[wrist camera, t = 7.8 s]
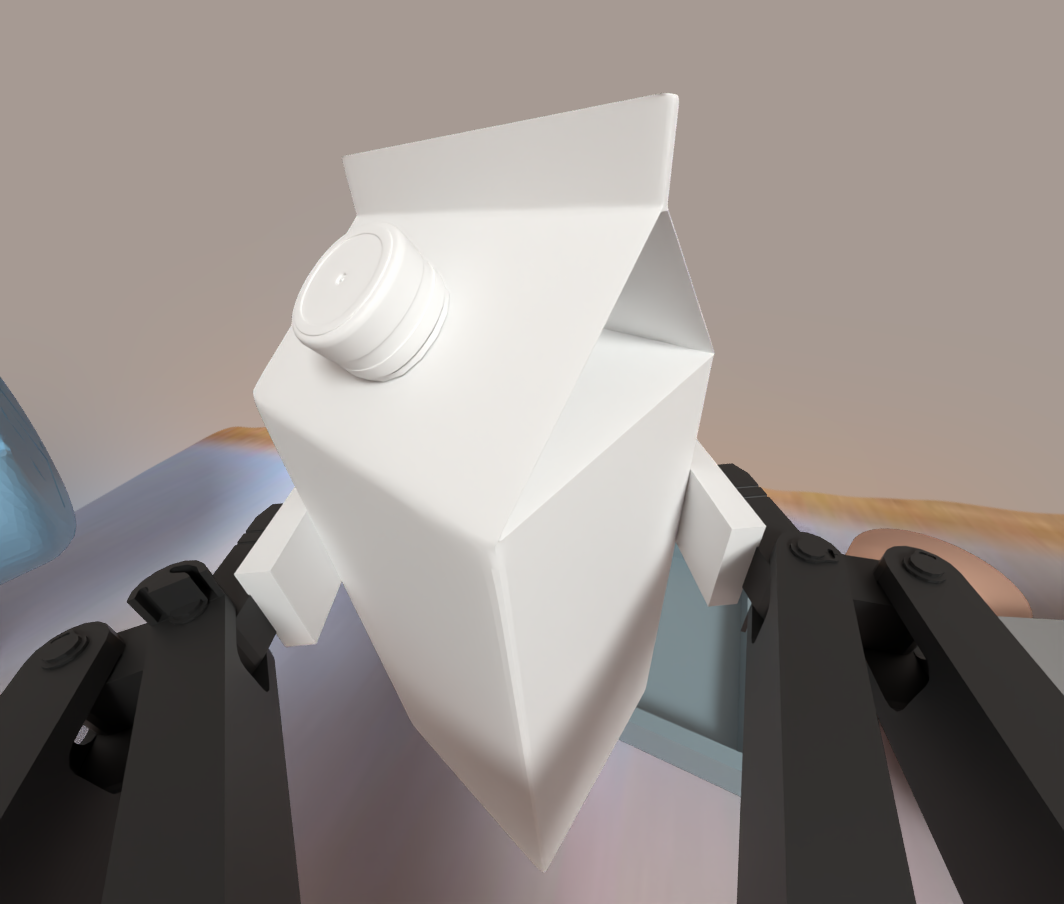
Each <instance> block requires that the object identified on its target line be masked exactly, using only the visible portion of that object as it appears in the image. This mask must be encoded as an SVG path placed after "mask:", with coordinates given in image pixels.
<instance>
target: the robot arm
mask: <svg viewBox="0 0 1064 904" xmlns="http://www.w3.org/2000/svg"><path fill="white" fill-rule="evenodd" d="M75 531H76V519H75V514H74V510H73V507H72V504H71V501H70V498H69V495H68V493H67V491H66V488H65V486H64V484H63V481H62V479H61V477H60V475H59V473H58V471H57V469H56V467H55V465H54V463H53V462H52V459H51V458H50V456H49V454H48V452H47V450H46V448H45V446H44V444H43V443H42V441H41V439H40V437H39V436H38V434H37V432H36V430H35V429H34V427H33V425H32V424H31V422H30V420H29V419H28V417H27V415H26V414H25V412H24V411H23V409H22V408H21V406H20V405H19V403H18V402H17V400H16V398H15V397H14V395H13V394H12V393H11V391H10V390H9V388H8V387H7V385H6V384H5V382H4V381H3V380H2V379H1V377H0V585H1V584H3V583H5V582H7V581H9V580H12V579H14V578H16V577H18V576H20V575H22V574H24V573H27V572H29V571H31V570H33V569H35V568H37V567H39V566H41V565H44V564H46V563H48V562H50V561H52V560H53V559H55V558H56V557H58V556H59V555H60V554H61V553H62V552H63V551H64V550H65V549H66V548H67V547H68V545H69V544H70V542H71V540H72V539H73V537H74V535H75ZM237 543H238V544H237V545H235V546H234V547H233V549H232V550H231V551H230V553H229V554H228V555H227V557H226V558H225V559H224V561H223V562H222V563H221V565H220V566H219V567H218V569H217V570H216V571H215V573H214V574H213V575H212V573H211V572H210V571H209V570H208V568H207V567H206V566H205V564H204V563H202V562H199V561H197V560H192V561H182V562H179V563H175V564H172V565H169V566H167V567H165V568H163V569H161V570H159V571H157V572H155V573H154V574H152V575H151V576H149V577H148V578H146V579H145V580H143V581H142V582H141V583H140V584H139V585H138V586H137V587H136V588H135V589H134V590H133V591H132V592H131V594H130V596H129V598H128V600H127V603H128V604H129V605H130V606H131V607H132V608H133V609H134V610H135V611H136V612H137V613H138V614H139V615H140V616H141V617H142V618H143V619H144V620H145V621H146V622H147V623H146V624H143V625H140V626H137V627H134V628H131V629H128V630H125V631H122V632H119V633H116V632H115V631H114V630H113V629H112V628H110V627H109V626H108V625H107V624H106V623H102V622H98V621H97V622H90V623H84V624H82V625H79V626H76V627H74V628H71V629H68V630H67V631H65V632H63V633H61V634H60V635H57V636H56V637H54V638H52V639H51V640H49V641H48V642H47V643H46V644H44V645H43V646H42V647H40V648H39V649H38V650H36V651H35V652H34V653H33V654H32V656H31V657H30V658H29V659H28V660H27V661H26V662H25V663H24V664H23V666H22V667H21V668H20V670H19V671H18V672H17V674H16V675H15V676H14V678H13V679H12V681H11V682H10V683H9V685H8V686H7V687H6V689H5V690H4V691H3V693H2V694H1V695H0V904H301V901H300V892H299V883H298V874H297V864H296V855H295V846H294V837H293V827H292V818H291V809H290V800H289V790H288V781H287V772H286V762H285V753H284V744H283V735H282V725H281V716H280V707H279V698H278V688H277V679H276V670H275V661H274V657H273V655H272V653H271V651H270V650H269V649H268V648H269V646H270V644H271V642H272V640H273V638H274V636H275V635H276V634H277V636H278V637H279V639H280V640H281V641H282V643H283V644H284V646H285V647H291V646H302V645H312V644H317V641H318V639H319V636H320V634H321V631H322V629H323V626H324V624H325V621H326V619H327V617H328V614H329V612H330V609H331V607H332V604H333V602H334V599H335V597H336V594H337V592H338V589H339V587H340V585H341V582H342V581H341V579H340V577H339V575H338V573H337V570H336V568H335V566H334V564H333V562H332V560H331V558H330V556H329V554H328V552H327V550H326V548H325V546H324V544H323V542H322V540H321V538H320V536H319V534H318V532H317V530H316V528H315V526H314V524H313V522H312V520H311V518H310V516H309V514H308V512H307V510H306V508H305V506H304V504H303V502H302V500H301V498H300V496H299V494H298V492H297V489H296V487H294V489H293V490H292V492H291V493H290V494H289V496H288V497H287V499H286V500H285V502H284V503H282V504H272V505H271V506H270V507H269V508H267V509H266V510H265V511H263V512H262V513H261V514H260V515H258V516H257V517H256V518H255V519H254V521H253V522H252V523H251V525H250V526H249V527H248V529H247V530H246V534H243V535H242V537H241V538H240V539H239V541H238V542H237ZM676 543H677V545H678V547H679V549H680V551H681V553H682V555H683V557H684V559H685V561H686V563H687V565H688V567H689V569H690V571H691V573H692V575H693V577H694V579H695V581H696V583H697V585H698V587H699V589H700V591H701V593H702V595H703V597H704V599H705V601H706V603H707V605H708V607H709V606H720V605H730V604H737V603H738V601H739V598H740V595H741V593H742V590H744V591H745V593H746V594H747V596H748V598H749V599H750V601H751V605H750V608H749V610H748V613H747V615H746V618H745V620H744V623H743V625H742V628H741V631H742V632H746V630H747V647H746V674H745V701H744V727H743V754H742V781H741V807H740V834H739V861H738V888H737V904H916V900H915V896H914V891H913V886H912V881H911V876H910V872H909V867H908V862H907V857H906V852H905V848H904V843H903V838H902V833H901V828H900V824H899V819H898V814H897V809H896V804H895V800H894V795H893V790H892V785H891V780H890V776H889V771H888V766H887V761H886V756H885V752H884V747H883V742H882V737H881V733H880V728H879V723H878V718H879V720H880V722H881V725H882V727H883V729H884V731H885V733H886V736H887V738H888V740H889V742H890V744H891V746H892V749H893V751H894V753H895V755H896V757H897V760H898V762H899V764H900V766H901V768H902V770H903V773H904V775H905V777H906V779H907V781H908V784H909V786H910V788H911V790H912V792H913V794H914V797H915V799H916V801H917V803H918V805H919V808H920V810H921V812H922V814H923V816H924V818H925V821H926V823H927V825H928V827H929V829H930V832H931V834H932V836H933V838H934V840H935V842H936V845H937V847H938V849H939V851H940V853H941V856H942V858H943V860H944V862H945V864H946V866H947V869H948V871H949V873H950V875H951V877H952V880H953V882H954V884H955V886H956V888H957V890H958V893H959V895H960V897H961V899H962V901H963V904H1064V695H1063V694H1062V693H1061V691H1060V690H1059V689H1058V688H1057V687H1056V685H1055V684H1054V683H1053V682H1052V681H1051V679H1050V678H1049V677H1048V676H1047V675H1046V673H1045V672H1044V671H1043V670H1042V669H1041V668H1040V666H1039V665H1038V664H1037V663H1036V662H1035V660H1034V659H1033V658H1032V657H1031V656H1030V654H1029V653H1028V652H1027V651H1026V650H1025V649H1024V647H1023V646H1022V645H1021V644H1020V643H1019V641H1018V640H1017V639H1016V638H1015V637H1014V635H1013V634H1012V633H1011V632H1010V631H1009V629H1008V628H1007V627H1006V626H1005V625H1004V624H1003V622H1002V621H1001V620H1000V619H999V618H998V616H997V615H996V614H995V613H994V612H993V610H992V609H991V608H990V607H989V606H988V605H987V603H986V602H985V601H984V600H983V599H982V597H981V596H980V595H979V594H978V593H977V591H976V590H975V589H974V588H973V587H972V586H971V584H970V583H969V582H968V581H967V580H966V578H965V577H964V576H963V575H962V574H961V573H960V572H959V571H958V570H957V569H956V568H955V567H954V566H953V565H952V564H950V563H949V562H947V561H945V560H944V559H942V558H940V557H939V556H937V555H935V554H932V553H930V552H927V551H925V550H922V549H919V548H914V547H909V546H893V547H891V548H889V549H887V550H886V551H885V553H884V554H883V556H882V558H881V559H880V560H876V559H869V558H862V557H856V556H849V555H844V554H841V553H840V552H839V551H838V550H837V549H836V548H835V547H834V546H833V545H832V544H831V543H829V542H827V541H826V540H824V539H822V538H821V537H818V536H815V535H813V534H810V533H806V532H800V531H799V530H798V529H797V528H796V527H795V526H794V525H793V523H792V522H791V521H790V520H789V519H788V518H787V517H786V516H785V514H784V513H783V512H782V511H781V510H780V509H779V508H778V506H777V505H776V504H775V503H774V502H773V501H772V500H771V499H770V497H767V494H766V493H765V492H764V491H763V489H762V488H761V487H758V484H757V483H756V482H755V480H754V479H753V478H752V477H751V476H750V475H749V474H748V473H747V472H745V471H744V470H742V469H740V468H739V467H737V466H735V465H734V464H721V465H717V464H716V463H715V461H714V460H713V459H712V458H711V456H710V455H709V454H708V453H707V451H706V450H705V449H704V448H703V446H702V445H701V444H700V443H699V441H698V440H697V439H696V443H695V448H694V453H693V458H692V463H691V468H690V473H689V478H688V483H687V488H686V493H685V497H684V502H683V507H682V512H681V517H680V522H679V527H678V532H677V537H676ZM877 716H878V718H877ZM82 725H84V726H86V727H87V728H89V731H88V733H87V735H86V736H85V738H84V739H83V741H82V742H81V743H80V744H76V743H74V740H75V738H76V736H77V734H78V733H79V731H80V729H81V727H82Z"/></svg>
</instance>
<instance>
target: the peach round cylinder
mask: <svg viewBox="0 0 1064 904" xmlns="http://www.w3.org/2000/svg"><path fill="white" fill-rule="evenodd" d="M893 546H909V547H914V548H919V549H922V550H925V551H927V552H930V553H932V554H935V555H937V556H939V557H940V558H942V559H944V560H945V561H947V562H949V563H950V564H952V565H953V566H954V567H955V568H956V569H957V570H958V571H959V572H960V573H961V574H962V575H963V576H964V577H965V578H966V580H967V581H968V582H969V583H970V584H971V586H972V587H973V588H974V589H975V590H976V591H977V593H978V594H979V595H980V596H981V597H982V599H983V600H984V601H985V602H986V603H987V605H988V606H989V607H990V608H991V609H992V610H993V612H994V613H995V614H996V615H997V616H1002V617H1020V618H1033V615H1032V610H1031V608H1030V605H1029V603H1028V601H1027V600H1026V598H1025V597H1024V595H1023V594H1022V593H1021V592H1020V590H1019V589H1018V588H1017V587H1016V586H1015V585H1014V584H1013V583H1012V582H1011V581H1010V580H1009V579H1008V578H1006V577H1005V576H1004V575H1003V574H1002V573H1000V572H999V571H998V570H996V569H995V568H994V567H992V566H991V565H989V564H988V563H986V562H985V561H983V560H981V559H980V558H978V557H976V556H974V555H973V554H971V553H969V552H967V551H965V550H963V549H961V548H959V547H957V546H954V545H952V544H950V543H947V542H945V541H942V540H939V539H937V538H934V537H930V536H927V535H924V534H920V533H916V532H911V531H906V530H899V529H873V530H869V531H866V532H863V533H861V534H859V535H858V536H857V537H856V538H855V539H854V540H853V542H852V543H851V545H850V547H849V549H848V551H847V553H846V554H845V555H849V556H856V557H862V558H869V559H876V560H880V559H881V558H882V556H883V554H884V553H885V551H886V550H887V549H889V548H891V547H893Z"/></svg>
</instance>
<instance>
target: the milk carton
mask: <svg viewBox="0 0 1064 904" xmlns="http://www.w3.org/2000/svg"><path fill="white" fill-rule="evenodd" d="M678 106H679V97H678V96H677V95H676V94H675V95H674V94H670V93H660V94H655V95H650V96H645V97H640V98H636V99H631V100H625V101H620V102H615V103H610V104H605V105H600V106H594V107H590V108H584V109H580V110H574V111H569V112H564V113H560V114H554V115H549V116H544V117H539V118H534V119H529V120H524V121H519V122H514V123H509V124H504V125H498V126H493V127H489V128H483V129H478V130H474V131H469V132H463V133H458V134H453V135H448V136H443V137H438V138H433V139H428V140H423V141H418V142H412V143H407V144H403V145H398V146H392V147H387V148H382V149H377V150H372V151H367V152H362V153H357V154H352V155H347V156H343V157H342V161H343V165H344V169H345V173H346V177H347V181H348V184H349V188H350V192H351V196H352V200H353V204H354V207H355V210H356V214H357V217H356V218H355V220H354V222H353V224H352V226H351V227H350V228H349V230H348V232H347V233H346V234H345V235H343V236H342V237H341V238H340V239H338V240H337V241H336V242H335V243H334V244H333V245H332V246H331V247H330V248H329V249H328V250H327V251H326V252H325V253H324V254H323V256H322V257H321V258H320V260H319V261H318V262H317V263H316V265H315V266H314V268H313V269H312V271H311V272H310V274H309V275H308V277H307V279H306V281H305V282H304V284H303V286H302V288H301V290H300V292H299V295H298V297H297V300H296V302H295V306H294V308H293V313H292V325H291V327H290V328H289V330H288V332H287V333H286V335H285V337H284V338H283V340H282V342H281V343H280V345H279V347H278V348H277V350H276V351H275V353H274V355H273V356H272V358H271V360H270V361H269V363H268V365H267V367H266V368H265V370H264V372H263V373H262V375H261V377H260V378H259V380H258V382H257V384H256V386H255V388H254V390H253V395H254V401H255V404H256V407H257V409H258V411H259V413H260V415H261V418H262V420H263V422H264V424H265V426H266V428H267V430H268V432H269V435H270V437H271V439H272V441H273V443H274V445H275V447H276V449H277V451H278V453H279V455H280V457H281V459H282V461H283V463H284V465H285V467H286V469H287V471H288V473H289V475H290V477H291V479H292V481H293V483H294V485H295V487H296V489H297V492H298V494H299V496H300V498H301V500H302V502H303V504H304V506H305V508H306V510H307V512H308V514H309V516H310V518H311V520H312V522H313V524H314V526H315V528H316V530H317V532H318V534H319V536H320V538H321V540H322V542H323V544H324V546H325V548H326V550H327V552H328V554H329V556H330V558H331V560H332V562H333V564H334V566H335V568H336V570H337V573H338V575H339V577H340V579H341V581H342V583H343V585H344V587H345V589H346V591H347V593H348V595H349V597H350V599H351V601H352V603H353V605H354V607H355V609H356V611H357V613H358V615H359V617H360V619H361V621H362V623H363V625H364V627H365V629H366V631H367V633H368V635H369V638H370V640H371V642H372V644H373V646H374V648H375V650H376V652H377V654H378V656H379V658H380V660H381V662H382V664H383V666H384V668H385V670H386V672H387V674H388V676H389V678H390V680H391V682H392V684H393V686H394V688H395V690H396V692H397V694H398V696H399V698H400V700H401V702H402V704H403V706H404V708H405V711H406V713H407V715H408V717H409V719H410V721H411V722H412V724H413V725H414V727H415V728H416V729H417V730H418V732H419V733H420V734H421V735H422V736H423V737H424V739H425V740H426V741H427V742H428V743H429V744H430V746H431V747H432V748H433V749H434V750H435V751H436V752H437V754H438V755H439V756H440V757H441V758H442V759H443V761H444V762H445V763H446V764H447V765H448V766H449V767H450V769H451V770H452V771H453V772H454V773H455V774H456V775H457V777H458V778H459V779H460V780H461V781H462V782H463V784H464V785H465V786H466V787H467V788H468V789H469V790H470V792H471V793H472V794H473V795H474V796H475V797H476V799H477V800H478V801H479V802H480V803H481V804H482V805H483V807H484V808H485V809H486V810H487V811H488V812H489V813H490V815H491V816H492V817H493V818H494V819H495V820H496V822H497V823H498V824H499V825H500V826H501V827H502V828H503V830H504V831H505V832H506V833H507V834H508V835H509V837H510V838H511V839H512V840H513V841H514V842H515V843H516V845H517V846H518V847H519V848H520V849H521V850H522V851H523V853H524V854H525V855H526V856H527V857H528V858H529V859H530V860H531V862H532V863H533V864H534V865H535V866H536V867H537V868H538V869H539V870H540V871H542V872H546V871H547V869H548V867H549V866H550V864H551V862H552V860H553V858H554V856H555V855H556V853H557V851H558V849H559V847H560V845H561V844H562V842H563V840H564V838H565V836H566V834H567V833H568V831H569V829H570V827H571V825H572V823H573V822H574V820H575V818H576V816H577V814H578V812H579V811H580V809H581V807H582V805H583V803H584V801H585V800H586V798H587V796H588V794H589V792H590V790H591V789H592V787H593V785H594V783H595V781H596V779H597V778H598V776H599V774H600V772H601V770H602V768H603V767H604V765H605V763H606V761H607V759H608V757H609V756H610V754H611V752H612V750H613V748H614V746H615V745H616V743H617V741H618V739H619V737H620V735H621V734H622V732H623V730H624V728H625V726H626V724H627V723H628V721H629V719H630V717H631V715H632V713H633V712H634V710H635V708H636V706H637V704H638V702H639V701H640V699H641V697H642V695H643V693H644V691H645V689H646V685H647V680H648V675H649V670H650V665H651V660H652V655H653V650H654V645H655V640H656V635H657V631H658V626H659V621H660V616H661V611H662V606H663V601H664V596H665V591H666V586H667V581H668V576H669V571H670V567H671V562H672V557H673V552H674V547H675V542H676V537H677V532H678V527H679V522H680V517H681V512H682V507H683V502H684V497H685V493H686V488H687V483H688V478H689V473H690V468H691V463H692V458H693V453H694V448H695V443H696V438H697V433H698V429H699V424H700V419H701V414H702V409H703V404H704V399H705V394H706V389H707V384H708V379H709V374H710V369H711V364H712V360H713V356H714V354H715V352H714V349H713V346H712V343H711V340H710V337H709V334H708V331H707V327H706V324H705V321H704V318H703V315H702V312H701V309H700V306H699V303H698V300H697V297H696V294H695V291H694V287H693V284H692V281H691V278H690V275H689V272H688V269H687V266H686V263H685V260H684V256H683V254H682V250H681V247H680V244H679V241H678V238H677V235H676V232H675V229H674V226H673V223H672V219H671V217H670V214H669V210H668V206H667V205H668V195H669V187H670V178H671V169H672V160H673V151H674V143H675V133H676V125H677V116H678Z"/></svg>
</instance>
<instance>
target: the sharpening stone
mask: <svg viewBox="0 0 1064 904" xmlns="http://www.w3.org/2000/svg"><path fill="white" fill-rule="evenodd" d="M998 618H999V619H1000V620H1001V621H1002V622H1003V624H1004V625H1005V626H1006V627H1007V628H1008V629H1009V631H1010V632H1011V633H1012V634H1013V635H1014V637H1015V638H1016V639H1017V640H1018V641H1019V643H1020V644H1021V645H1022V646H1023V647H1024V649H1025V650H1026V651H1027V652H1028V653H1029V654H1030V656H1031V657H1032V658H1033V659H1034V660H1035V662H1036V663H1037V664H1038V665H1039V666H1040V668H1041V669H1042V670H1043V671H1044V672H1045V673H1046V675H1047V676H1048V677H1049V678H1050V679H1051V681H1052V682H1053V683H1054V684H1055V685H1056V687H1057V688H1058V689H1059V690H1060V691H1061V693H1062V694H1063V695H1064V620H1057V619H1038V618H1020V617H1002V616H998Z"/></svg>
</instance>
